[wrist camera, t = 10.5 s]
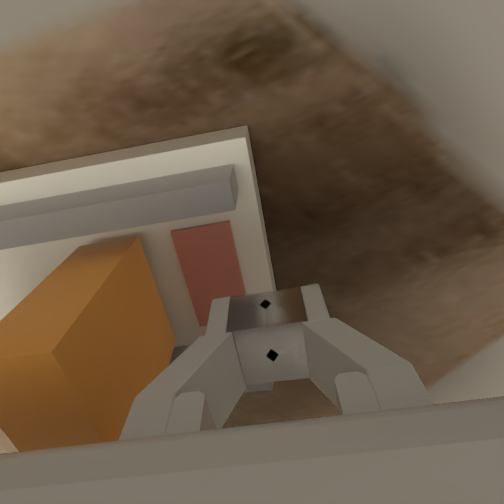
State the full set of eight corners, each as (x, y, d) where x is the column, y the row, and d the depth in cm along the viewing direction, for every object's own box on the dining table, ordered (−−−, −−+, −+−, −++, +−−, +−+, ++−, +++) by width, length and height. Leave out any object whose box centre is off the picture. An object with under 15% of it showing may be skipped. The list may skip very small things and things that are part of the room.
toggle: (138, 236, 11) (51, 351, 6) (176, 340, 13) (131, 488, 8) (79, 245, 11) (-48, 365, 6) (125, 347, 13) (54, 496, 8)
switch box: (247, 125, 13) (242, 149, 8) (306, 463, 22) (319, 560, 18) (-174, 205, 14) (-368, 261, 10) (48, 489, 24) (-1, 584, 19)
